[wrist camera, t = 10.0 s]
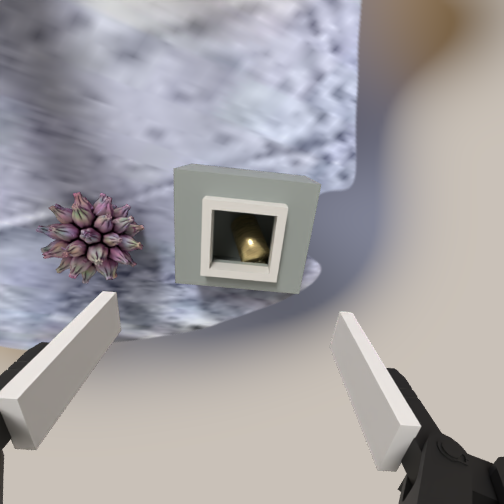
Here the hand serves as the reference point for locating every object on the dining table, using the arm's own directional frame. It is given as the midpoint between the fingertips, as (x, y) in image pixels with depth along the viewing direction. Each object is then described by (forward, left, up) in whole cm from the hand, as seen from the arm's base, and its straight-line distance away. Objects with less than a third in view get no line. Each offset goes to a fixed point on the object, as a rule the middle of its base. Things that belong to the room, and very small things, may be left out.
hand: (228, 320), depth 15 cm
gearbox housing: (0, 0, -25) cm, 25 cm away
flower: (-19, -3, -25) cm, 31 cm away
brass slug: (0, -1, -23) cm, 23 cm away
